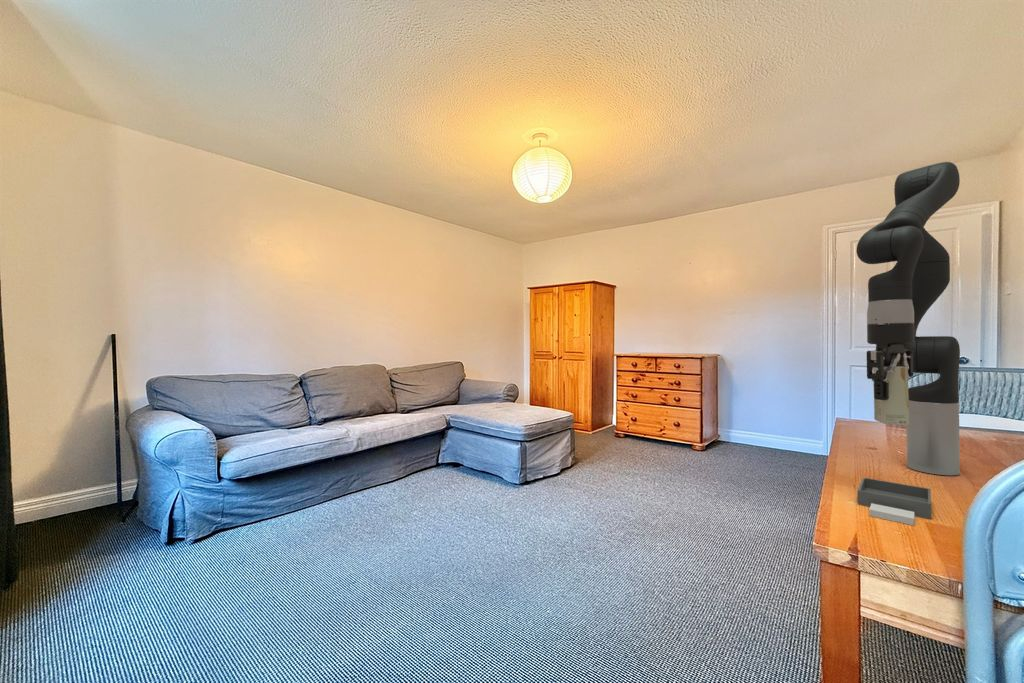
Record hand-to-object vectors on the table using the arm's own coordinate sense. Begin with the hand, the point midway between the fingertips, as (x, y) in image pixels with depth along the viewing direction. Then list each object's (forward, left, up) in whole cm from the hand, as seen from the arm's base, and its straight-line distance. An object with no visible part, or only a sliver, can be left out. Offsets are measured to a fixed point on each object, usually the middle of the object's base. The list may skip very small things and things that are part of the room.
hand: (890, 398), depth 89 cm
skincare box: (0, 0, -5) cm, 5 cm away
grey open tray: (+9, +5, -20) cm, 23 cm away
